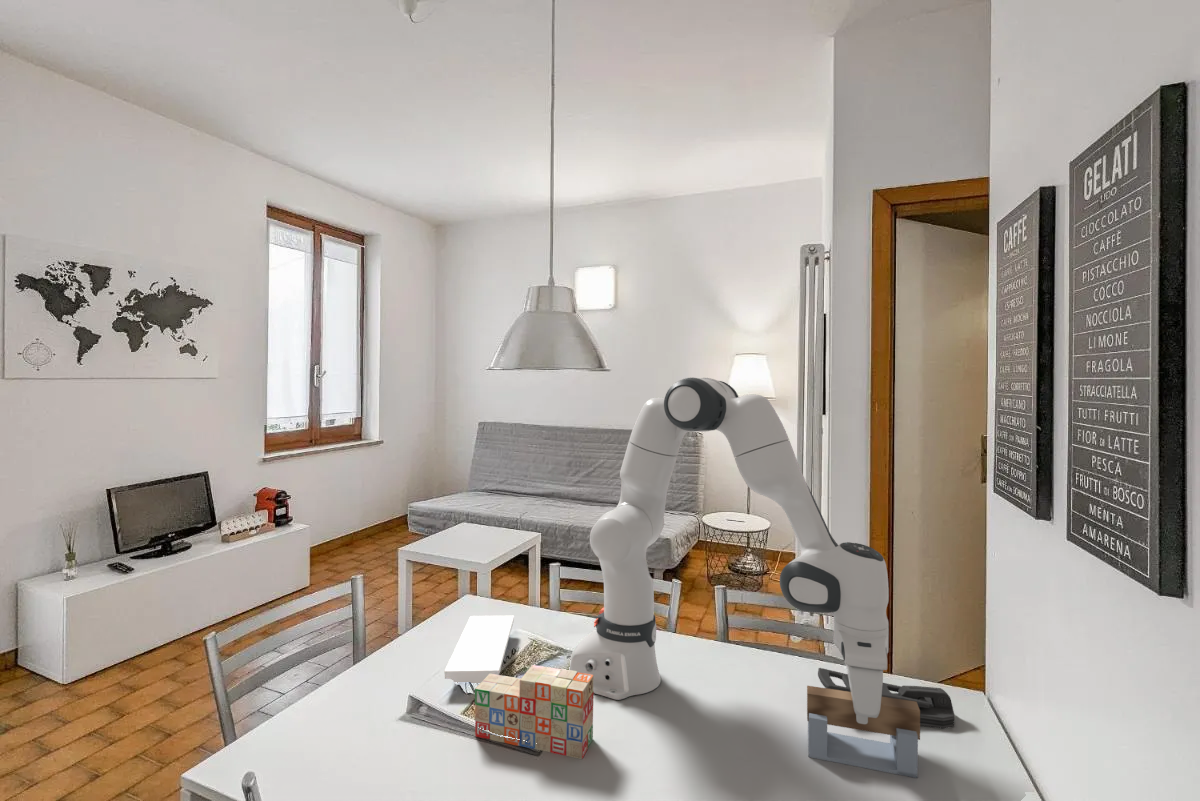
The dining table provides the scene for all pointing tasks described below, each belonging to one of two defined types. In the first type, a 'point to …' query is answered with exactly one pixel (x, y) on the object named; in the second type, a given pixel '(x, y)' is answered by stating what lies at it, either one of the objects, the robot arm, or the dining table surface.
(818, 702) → the rail
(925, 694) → the zipper pull
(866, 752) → the grey cradle stand
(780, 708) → the dining table surface
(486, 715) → the stack of blocks
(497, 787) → the dining table surface
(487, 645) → the shelf
